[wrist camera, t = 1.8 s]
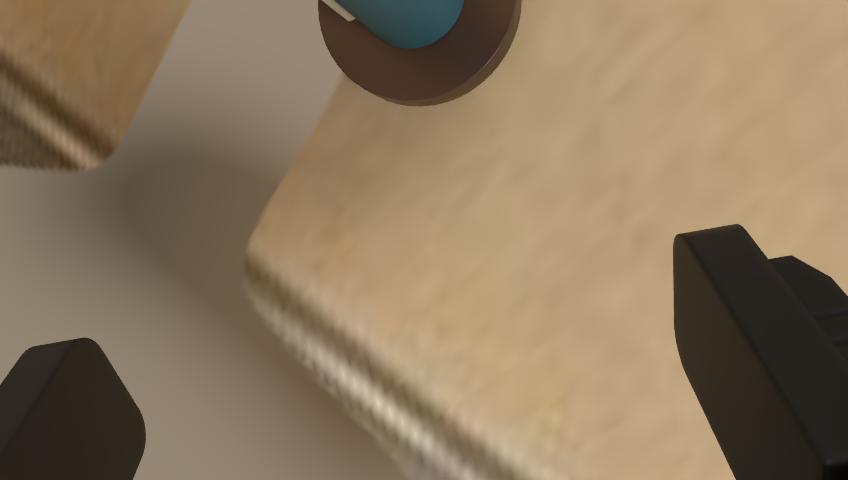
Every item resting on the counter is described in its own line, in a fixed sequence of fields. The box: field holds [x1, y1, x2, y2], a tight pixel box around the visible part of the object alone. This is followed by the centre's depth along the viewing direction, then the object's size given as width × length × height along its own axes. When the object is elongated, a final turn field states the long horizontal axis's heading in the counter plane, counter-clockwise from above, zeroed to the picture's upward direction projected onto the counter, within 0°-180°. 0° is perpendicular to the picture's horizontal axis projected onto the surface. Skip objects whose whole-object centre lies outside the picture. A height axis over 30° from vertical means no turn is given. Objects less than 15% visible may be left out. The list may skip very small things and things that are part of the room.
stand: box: [318, 0, 522, 106], centre depth 29 cm, size 9×9×2 cm
